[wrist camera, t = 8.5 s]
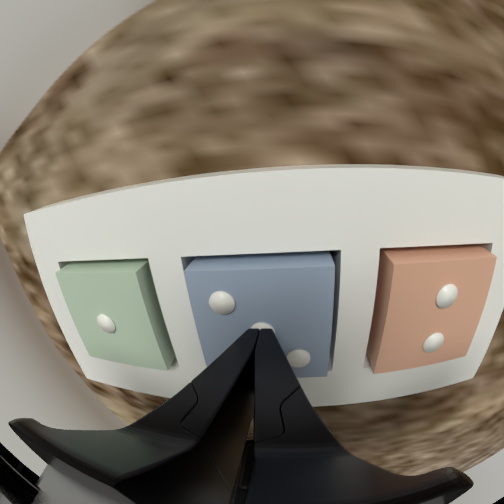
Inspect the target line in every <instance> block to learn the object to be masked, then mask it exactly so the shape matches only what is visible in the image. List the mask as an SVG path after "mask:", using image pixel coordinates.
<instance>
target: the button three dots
mask: <svg viewBox="0 0 504 504" xmlns="http://www.w3.org/2000/svg"><path fill="white" fill-rule="evenodd" d="M184 275H185V280H186V284H187V289H188V294H189V298H190V303H191V307H192V311H193V315H194V320H195V324H196V328H197V332H198V336H199V340H200V344H201V347H202V351H203V355H204V359H205V362H206V366H207V367H208V366H209V365H210V364H211V363H212V362H213V361H214V360H215V359H216V358H217V357H218V356H220V355H221V354H222V353H223V352H224V351H225V350H226V349H227V348H228V347H229V346H230V345H231V344H232V343H233V342H234V341H236V340H237V339H238V338H239V337H240V336H241V335H242V334H243V333H244V332H245V331H246V330H247V329H249V328H258V329H262V328H271V329H273V331H274V333H275V335H276V337H277V339H278V341H279V343H280V345H281V347H282V349H283V351H284V353H285V355H286V357H287V359H288V361H289V363H290V365H291V367H292V369H293V371H294V373H295V375H296V377H297V378H305V377H326V376H327V373H328V364H329V354H330V344H331V332H332V319H333V303H334V283H335V265H334V262H333V259H332V256H331V254H330V251H329V250H327V251H305V252H281V253H258V254H234V255H211V256H196V257H195V258H194V260H193V261H192V262H191V263H190V264H189V266H188V267H187V268H186V269H185V270H184Z"/></svg>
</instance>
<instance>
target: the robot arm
mask: <svg viewBox="0 0 504 504" xmlns="http://www.w3.org/2000/svg"><path fill="white" fill-rule="evenodd" d="M253 411H254V442H252V441H246V438H247V435H248V431H249V427H250V423H251V419H252V415H253ZM9 425H10V427H11V428H12V430H13V431H14V432H15V433H16V434H17V435H18V436H19V437H20V438H21V439H22V440H23V441H24V442H25V443H26V444H27V445H28V446H29V447H30V448H31V449H32V450H33V451H34V452H35V453H36V454H37V455H38V456H39V457H41V459H43V460H44V461H45V462H46V463H47V464H48V465H47V466H46V468H45V469H44V471H43V473H42V474H41V476H40V477H39V476H38V475H36V474H35V473H34V472H33V471H31V470H30V469H29V468H28V467H26V466H25V465H24V464H23V463H22V462H20V461H19V460H18V459H17V458H16V457H15V456H14V455H13V454H12V453H11V452H10V451H8V450H7V449H6V448H5V447H4V446H3V445H2V444H1V443H0V504H449V503H450V502H452V501H453V500H455V499H456V498H458V497H459V496H461V495H462V494H464V493H465V492H466V491H468V490H469V489H470V488H471V487H472V486H473V484H474V483H473V481H472V480H471V479H470V477H468V476H467V475H466V474H465V473H463V472H461V471H459V470H457V469H455V468H453V467H445V468H441V469H437V470H434V471H431V472H428V473H425V474H421V475H417V476H403V475H398V474H395V473H392V472H390V471H387V470H385V469H383V468H380V467H378V466H376V465H373V464H371V463H369V462H367V461H364V460H362V459H360V458H358V457H356V456H354V455H353V454H351V453H350V452H348V451H347V450H346V449H345V448H344V447H343V446H342V445H341V443H340V442H339V441H338V440H337V438H336V437H335V436H334V435H333V433H332V432H331V431H330V430H329V428H328V427H327V426H326V424H325V423H324V422H323V421H322V419H321V418H320V417H319V415H318V414H317V412H316V411H315V410H314V408H313V407H312V405H311V403H310V402H309V400H308V398H307V396H306V395H305V393H304V391H303V389H302V388H301V385H300V383H299V381H298V379H297V377H296V375H295V373H294V371H293V369H292V367H291V365H290V363H289V361H288V359H287V357H286V355H285V353H284V351H283V349H282V347H281V345H280V343H279V341H278V339H277V337H276V335H275V333H274V331H273V329H271V328H262V329H258V328H249V329H247V330H246V331H245V332H244V333H243V334H242V335H241V336H240V337H239V338H238V339H237V340H236V341H234V342H233V343H232V344H231V345H230V346H229V347H228V348H227V349H226V350H225V351H224V352H223V353H222V354H221V355H220V356H218V357H217V358H216V359H215V360H214V361H213V362H212V363H211V364H210V365H209V366H208V367H206V368H205V369H204V370H203V371H202V372H201V373H200V374H199V375H198V376H196V377H195V378H194V379H193V380H192V381H191V383H188V384H187V385H186V386H185V387H184V388H183V389H182V390H180V391H179V392H178V393H177V394H175V395H174V396H173V397H172V398H170V399H169V400H167V401H166V402H165V403H163V404H162V405H160V406H159V407H157V408H156V409H154V410H153V411H151V412H150V413H148V414H147V415H145V416H143V417H142V418H140V419H139V420H137V421H136V422H134V423H132V424H130V425H129V426H126V427H124V428H121V429H117V430H97V431H96V430H87V431H86V430H62V429H54V428H50V427H47V426H44V425H42V424H40V423H39V422H37V421H36V420H34V419H31V418H19V419H14V420H12V421H10V422H9ZM493 504H504V497H503V498H501V499H500V500H498V501H496V502H495V503H493Z"/></svg>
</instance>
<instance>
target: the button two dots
mask: <svg viewBox="0 0 504 504" xmlns="http://www.w3.org/2000/svg"><path fill="white" fill-rule="evenodd" d="M496 259H497V256H495V255H494V254H492V253H491V252H489V251H488V250H486V249H485V248H483V247H482V246H480V245H479V244H460V245H439V246H417V247H395V248H380V254H379V266H378V277H377V286H376V294H375V302H374V309H373V316H372V322H371V328H370V334H369V339H368V345H367V350H366V351H367V354H368V357H369V361H370V364H371V367H372V371H373V374H378V373H386V372H392V371H399V370H405V369H410V368H416V367H421V366H426V365H431V364H435V363H440V362H444V361H448V360H452V359H456V358H460V357H464V356H466V354H467V352H468V349H469V347H470V345H471V342H472V340H473V337H474V335H475V332H476V329H477V326H478V324H479V321H480V318H481V315H482V312H483V309H484V306H485V302H486V299H487V296H488V292H489V288H490V285H491V281H492V277H493V273H494V268H495V264H496Z"/></svg>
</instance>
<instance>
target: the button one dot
mask: <svg viewBox="0 0 504 504" xmlns="http://www.w3.org/2000/svg"><path fill="white" fill-rule="evenodd" d="M55 274H56V277H57V280H58V283H59V285H60V288H61V291H62V294H63V297H64V299H65V302H66V304H67V307H68V309H69V312H70V314H71V317H72V319H73V321H74V324H75V326H76V328H77V331H78V333H79V335H80V337H81V339H82V341H83V343H84V345H85V348H86V350H87V352H88V354H89V356H91V357H95V358H99V359H104V360H108V361H113V362H118V363H123V364H128V365H133V366H139V367H145V368H151V369H158V370H165V371H168V370H169V368H170V366H171V364H172V362H173V360H174V359H175V357H176V355H175V352H174V349H173V346H172V343H171V340H170V337H169V334H168V330H167V327H166V324H165V321H164V317H163V314H162V311H161V307H160V303H159V300H158V296H157V293H156V289H155V285H154V281H153V277H152V273H151V269H150V265H149V261H148V258H138V259H113V260H88V261H72V262H71V263H69V264H67V265H66V266H64V267H63V268H61V269H60V270H58V271H57V272H55Z"/></svg>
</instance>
